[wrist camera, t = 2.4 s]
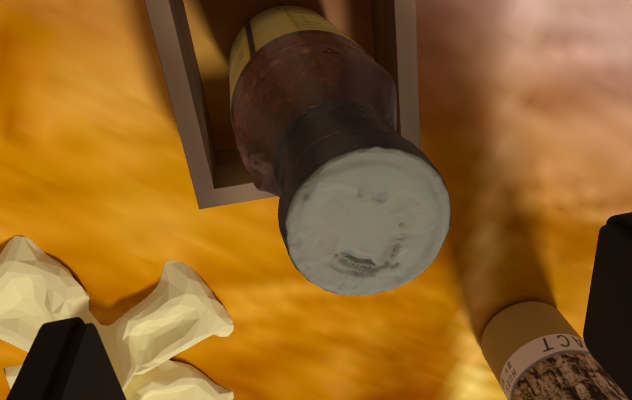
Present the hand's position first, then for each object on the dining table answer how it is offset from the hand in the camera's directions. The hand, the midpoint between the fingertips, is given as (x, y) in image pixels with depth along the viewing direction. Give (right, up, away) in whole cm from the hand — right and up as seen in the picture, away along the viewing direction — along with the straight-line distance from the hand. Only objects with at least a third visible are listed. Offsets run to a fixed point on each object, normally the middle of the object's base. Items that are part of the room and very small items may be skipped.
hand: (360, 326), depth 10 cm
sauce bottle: (-2, +11, +20) cm, 23 cm away
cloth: (-16, -9, +29) cm, 35 cm away
